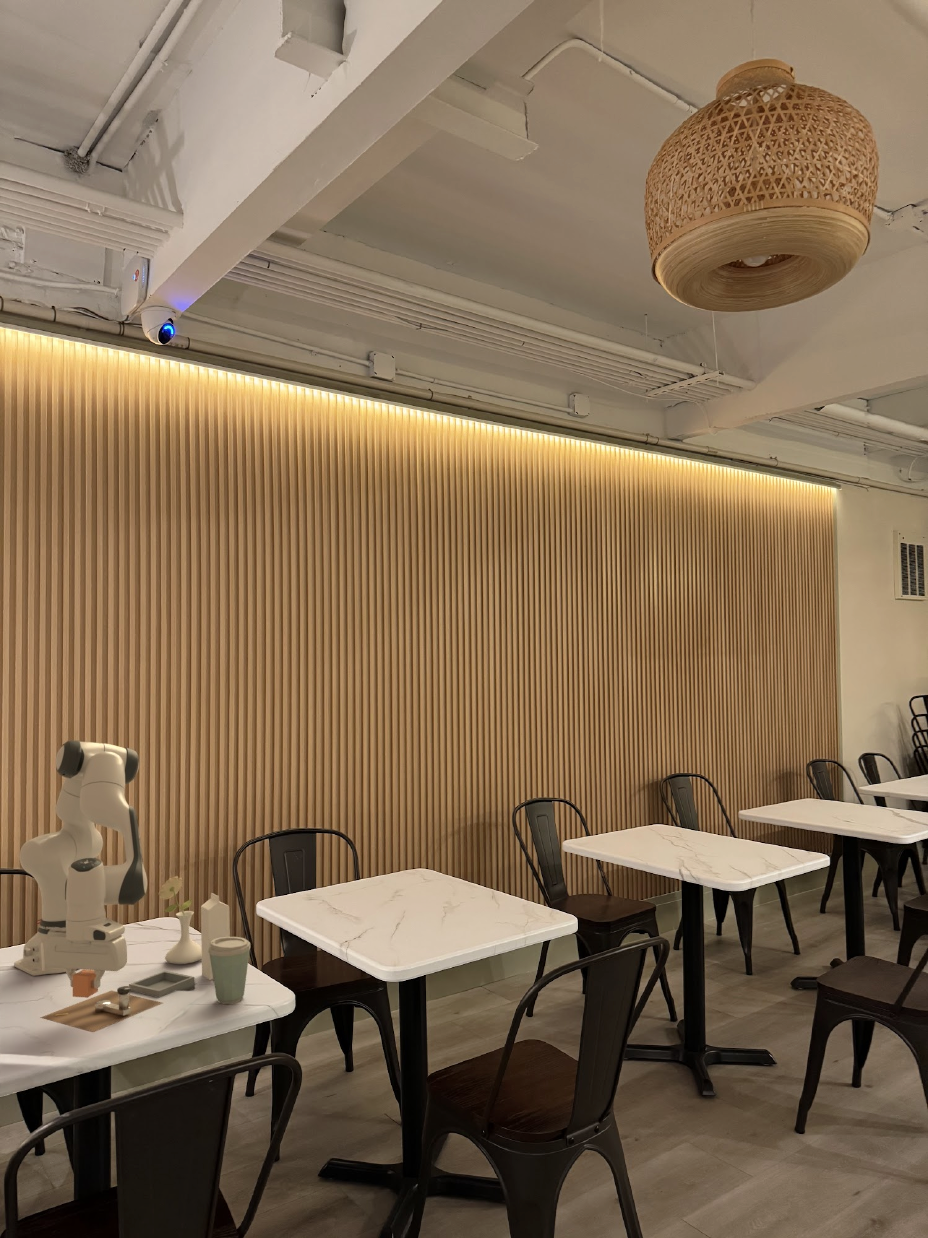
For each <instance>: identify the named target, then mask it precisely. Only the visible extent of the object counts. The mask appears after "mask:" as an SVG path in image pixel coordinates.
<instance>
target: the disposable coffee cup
mask: <svg viewBox="0 0 928 1238" xmlns="http://www.w3.org/2000/svg"><path fill="white" fill-rule="evenodd" d="M250 949H251V942H250V941H249V940H248V939H246V938H245V937H239V936H230V937H221V938H217V939H214V940H212V941H211V945H210V947H209V951H208V953H209V955H210V961H211V967H212V973H213V985H214V991H215V996H216V999H217V1002H218V1003H219V1004H224V1005H230V1004H231V1005H232V1004H235V1003H239V1002H241V1001H242V1000H243V999H244V995H245V989H246V982H247V974H248V966H249V958H250V957H249V956H250V952H251V951H250Z"/></svg>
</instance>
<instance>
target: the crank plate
mask: <svg viewBox="0 0 928 1238" xmlns="http://www.w3.org/2000/svg"><path fill="white" fill-rule="evenodd" d="M103 1000H109V1001H111V1003H113V1004H117V1005H119V994H118V993H117V991H115V990H110V991H106V992H104V993H101V994H99V995H96V996H94V997H90V998H88V999H85V1000H82V1001H79V1002H77V1003H75V1004H72V1005H69V1006H66V1007H63V1008H62V1009H59V1010H56V1011H54V1012H51V1013H47V1014H46V1015H43V1016H41V1017H40V1019H43V1020H44V1019H45V1020H47V1021H52V1022H55V1023H57V1024H58V1023H59V1024H62V1025H67V1026H69V1027H74V1028H76V1029H80V1030H84V1031H87V1032H91V1033H94V1032H97V1031H99V1030H102V1029H104V1028H106V1027H110V1026H112V1025H114V1024H117V1023H119V1022H122V1021H123V1020H126V1019H128V1018H130V1017H134V1016H135V1015H138V1014H140V1013H142V1012H143V1013H144V1012H145V1011H147V1010H149V1009H152V1008H154V1007H157V1006H159V1005H162V1004H163V1002H162V1001H157V1000H155V999H154V1000H153V999H149V998H145V997H141V996H137V995H136V996H135V995H133V994H132V995H131V994H129V1008H130V1013H129V1014H127V1015H124V1016H122V1015H118V1014H114V1013H110V1012H106V1011H95V1003H96V1002H99V1001H103Z"/></svg>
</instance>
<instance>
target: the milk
mask: <svg viewBox="0 0 928 1238" xmlns="http://www.w3.org/2000/svg"><path fill="white" fill-rule="evenodd" d="M230 919H231V918H230V906H229V905H228V904H225V903H224V902H221V901H220V896H219V895H216V894H215V893H212V892H211V893H210V898H209V899H208V900H206V902H204V903H203V904H202V905H201V906H200V925H201V926H200V928H201V929H200V931H201V934H200V935H201V938H200V939H201V947H202V959H201V975H202V976H203V977H204V978H206V979H207V980H209V981H212V980H213V981H214V979H213V973H212V967H211V961H210V955H209V953H208V951H209V947H210V945H211V941H212V940H214V939H217V938H221V937H231V933H230V932H231V931H230V926H231V925H230V923H231V922H230Z"/></svg>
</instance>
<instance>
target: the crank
mask: <svg viewBox="0 0 928 1238" xmlns="http://www.w3.org/2000/svg"><path fill="white" fill-rule="evenodd" d="M116 989H117V991H116V992H117V993H118V994H119V1005H117V1004H113V1003H111V1001H109V1000H103V1001H99V1002H96V1003H95V1011H106V1012H110V1013H114V1014H118V1015H122V1016H124V1015H127V1014H129V1013H130V1008H129V995H130V993H131V992H132V991H131V987H130V986H129V985H125V986H120V987H118V988H116Z"/></svg>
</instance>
